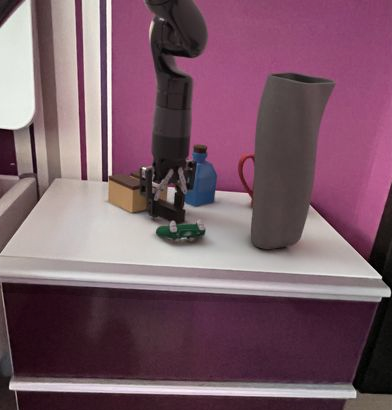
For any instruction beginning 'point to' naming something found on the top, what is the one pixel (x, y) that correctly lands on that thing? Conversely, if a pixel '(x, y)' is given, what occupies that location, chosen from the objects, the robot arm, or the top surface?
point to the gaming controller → (182, 231)
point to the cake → (129, 192)
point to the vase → (286, 156)
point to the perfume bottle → (202, 179)
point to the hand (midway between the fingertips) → (165, 213)
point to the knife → (170, 211)
